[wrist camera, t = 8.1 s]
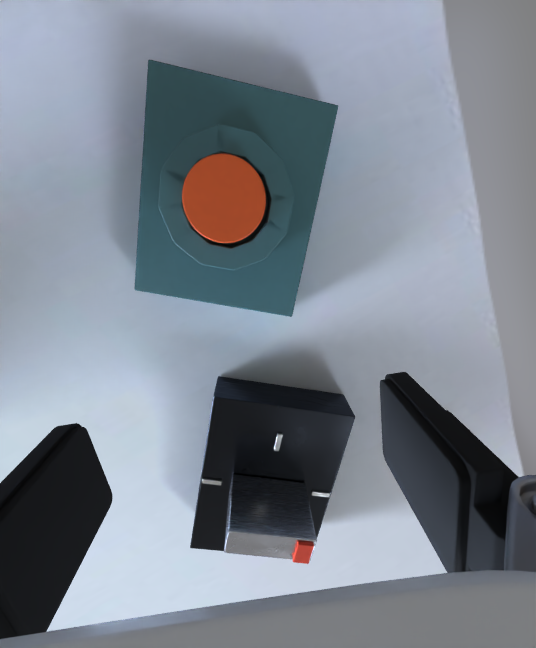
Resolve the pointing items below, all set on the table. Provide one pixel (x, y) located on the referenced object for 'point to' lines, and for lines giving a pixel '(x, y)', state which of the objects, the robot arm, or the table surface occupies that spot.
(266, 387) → the dial panel
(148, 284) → the button housing
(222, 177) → the button
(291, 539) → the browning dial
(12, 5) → the table surface
